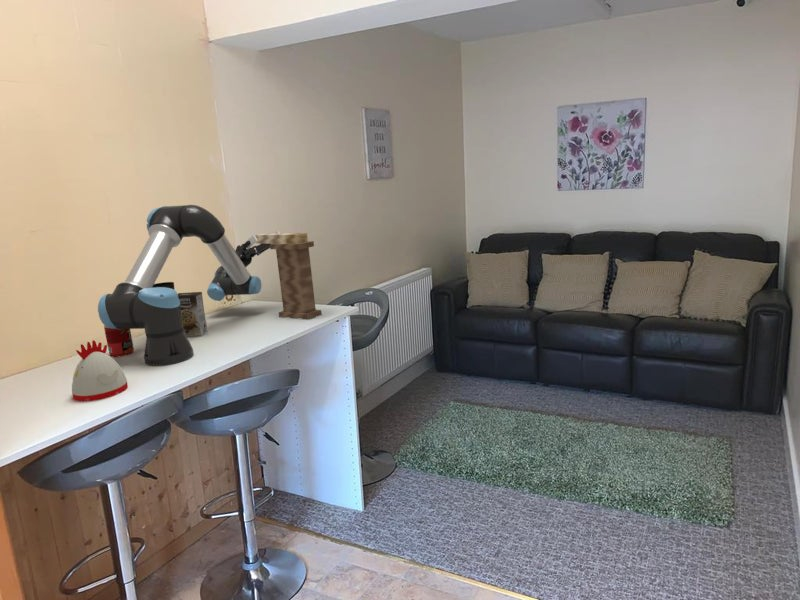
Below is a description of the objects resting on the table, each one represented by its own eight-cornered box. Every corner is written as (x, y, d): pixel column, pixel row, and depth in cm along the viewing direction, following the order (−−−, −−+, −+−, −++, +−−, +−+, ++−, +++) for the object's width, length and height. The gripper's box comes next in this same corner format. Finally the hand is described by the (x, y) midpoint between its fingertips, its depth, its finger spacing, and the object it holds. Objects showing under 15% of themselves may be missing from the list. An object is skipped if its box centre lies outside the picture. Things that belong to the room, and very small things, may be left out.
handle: (253, 244, 239) (252, 235, 239) (264, 242, 244) (263, 233, 244) (297, 243, 227) (296, 234, 226) (307, 241, 232) (307, 232, 231)
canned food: (128, 356, 199) (122, 325, 197) (105, 357, 199) (99, 326, 197) (138, 349, 207) (132, 319, 204) (116, 351, 207) (110, 321, 205)
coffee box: (178, 338, 218) (171, 296, 215) (185, 333, 225) (178, 292, 221) (201, 336, 218) (195, 294, 214) (208, 332, 224) (202, 290, 221)
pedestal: (279, 317, 240) (269, 244, 233) (292, 312, 246) (283, 241, 240) (308, 319, 231) (299, 244, 225) (321, 314, 238) (313, 241, 231)
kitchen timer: (64, 396, 163) (53, 345, 160) (111, 380, 174) (101, 332, 171) (89, 404, 155) (78, 350, 152) (137, 387, 166) (128, 336, 163)
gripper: (212, 257, 241) (240, 231, 229) (256, 249, 261) (284, 224, 249) (221, 273, 240) (249, 247, 228) (264, 263, 260) (292, 239, 248)
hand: (267, 235), depth 238 cm, fingers open, 13 cm apart
